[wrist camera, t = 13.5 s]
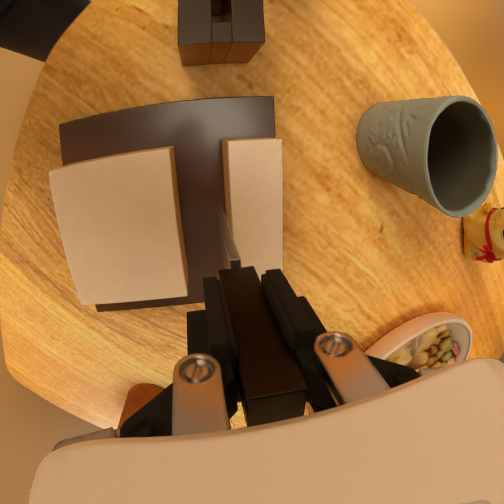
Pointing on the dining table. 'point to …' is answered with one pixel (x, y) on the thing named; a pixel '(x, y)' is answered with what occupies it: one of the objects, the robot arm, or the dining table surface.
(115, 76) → the dining table surface
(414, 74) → the dining table surface
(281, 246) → the cake slice
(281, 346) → the knife
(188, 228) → the cake board
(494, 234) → the chocolate bunny
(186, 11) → the knife block
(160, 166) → the cake
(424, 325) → the bowl
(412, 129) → the grey green embossed vase
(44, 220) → the dining table surface
